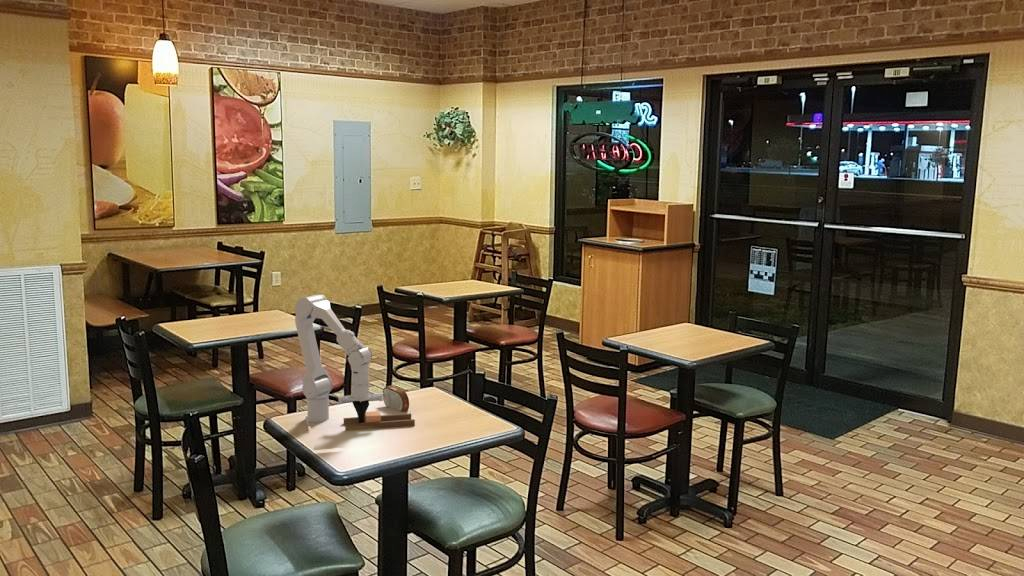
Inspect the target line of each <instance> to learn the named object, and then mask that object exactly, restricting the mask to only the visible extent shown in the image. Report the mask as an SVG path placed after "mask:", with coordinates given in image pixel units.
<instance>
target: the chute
mask: <svg viewBox="0 0 1024 576" xmlns="http://www.w3.org/2000/svg"><path fill="white" fill-rule="evenodd" d="M415 424H416V420H415V419H412V413H411V412H410V413H399V414H383V415H382V414H381V422H369V423H364V420H363V423H359V419H358V416H356V417H355V416H353V417H352V416H351V417H343V426H344V429H345V432H348V431H362V430H363V431H364V430H377V429H378V430H379V429H387V428H388V429H389V428H390V429H391V428H402V427H405V428H406V427H415V426H416V425H415Z"/></svg>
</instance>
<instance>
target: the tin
mask: <svg viewBox="0 0 1024 576" xmlns="http://www.w3.org/2000/svg"><path fill="white" fill-rule="evenodd" d="M382 395H383V401H382V402H384V405H385V406H386V408H393V409H396V410H398V411H400V412H405V411H406V412H407V411H409V409H410V400H409V396H408V394H407V392H406V391H405V390H404V389H403V388H399V387H397V386H395V385H392V384H391V385H387V386H385V387H383V390H382Z"/></svg>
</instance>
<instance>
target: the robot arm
mask: <svg viewBox="0 0 1024 576" xmlns="http://www.w3.org/2000/svg"><path fill="white" fill-rule="evenodd" d="M294 311H295V318H294V323H295V327H296V331H297V336H298V341H299V346H300V349H301V350H300V351H301V354H302V358H303V363H304V366H305V373H304V374H303V376H302V378H301V380H302V386H301V390H302V393H303V395H304V396H305V399H306V406H307V407H306V409H307V413H306V416H305V421H306V425H307V426H311V422H312V423H322V422H325V421H328V420H329V419H330V417H329V416H330V410H329V407H330V405H329V400H330V399H329V398H330V397H329V396H330V392H331V391H332V389H333V386H334V384H333V383H334V382H333V380H332V378H331V377H330V375H329V372H328V370H327V369H326V368H324V367H323V365H322V360H321V355H320V351H319V347H318V342H317V339H316V333H315V330H314V329H315V328H314V325H313V324H314V321H315V320H316V319H320V320H322V321H323V322H324V323H325V324H326V325H327V327H329V329H331V331H332V332H333V333H334V335H336V342H337V344H338V345H339V346H340V347H341V348H342V350H343V351H344V353H345V354H346V355H347V356H348V357H347V362H348V363H349V365H350V370H351V394H350V395H349V394H348V395H343V396H338V397H337V398H338V399H337V400H338V404H340V405H342V404H348V403H349V404H350V403H352V405H353V407H354V410H355V411H356V413H357V417H358V419H359V423H363V420H364V416H365V413H366V412H367V411H368V409H369V406H370V402H375V401H376V402H378V401H379V402H384V401H383V393H370V363H371V362H372V359H373V353H372V350H371V348H370V347H369V346H366V345H364V344H363V343H361V342H360V340H359V339H358V338H357V336H355V335H356V334H355V332H354V331H351V329H346V328H345V327H344V325H343V324H342V323H341V321H340V319H338V316H336V314H335V312H334V311H333V310H332V308H331V303H330V301H329V300H328V299H327V298H326V296H325V295H323V294H321V293H316V294H315V295H309V296H302V297H300V298H298V300H297V301H296V302H295V304H294Z"/></svg>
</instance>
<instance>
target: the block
mask: <svg viewBox="0 0 1024 576" xmlns="http://www.w3.org/2000/svg"><path fill="white" fill-rule="evenodd" d="M381 415H382V414H381V412H380V410H378V411H377V410H375V411H374V410H373V411H366V413H365V416H364V423H369V422H381Z"/></svg>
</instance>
